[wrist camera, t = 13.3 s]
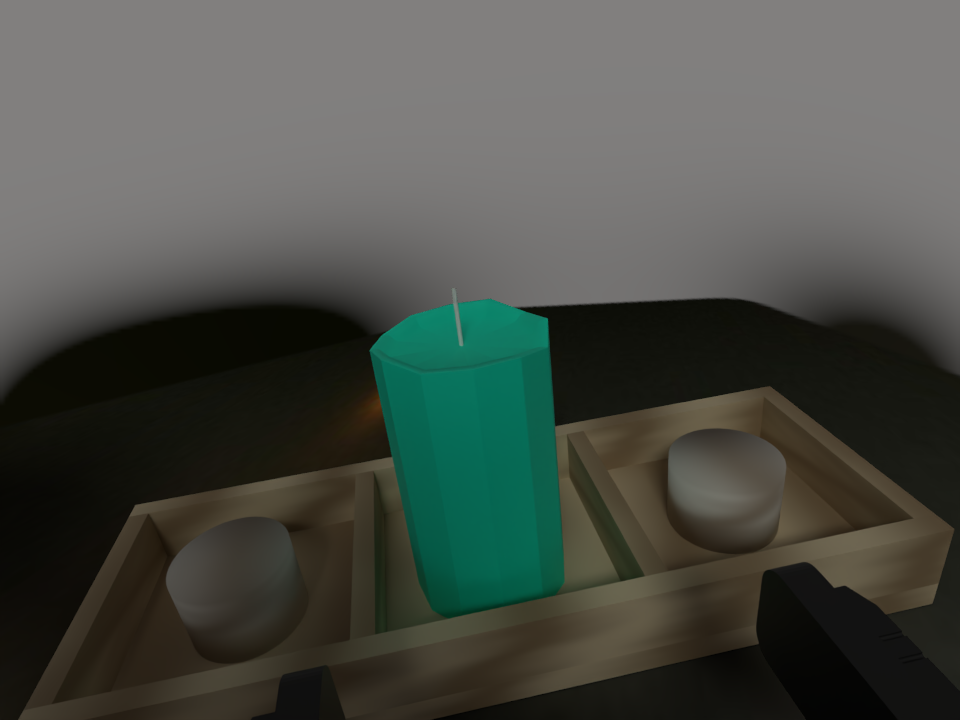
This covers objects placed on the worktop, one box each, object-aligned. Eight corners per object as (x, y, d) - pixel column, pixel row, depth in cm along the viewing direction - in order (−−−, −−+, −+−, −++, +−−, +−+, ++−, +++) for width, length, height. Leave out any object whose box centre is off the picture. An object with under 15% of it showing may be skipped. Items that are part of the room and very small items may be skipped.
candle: (482, 660, 21) (430, 344, 16) (390, 568, 25) (326, 297, 20) (598, 567, 24) (588, 278, 19) (499, 499, 28) (468, 250, 23)
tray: (59, 805, 19) (1, 725, 17) (162, 564, 29) (131, 496, 27) (932, 603, 22) (957, 517, 20) (763, 445, 32) (770, 377, 30)
